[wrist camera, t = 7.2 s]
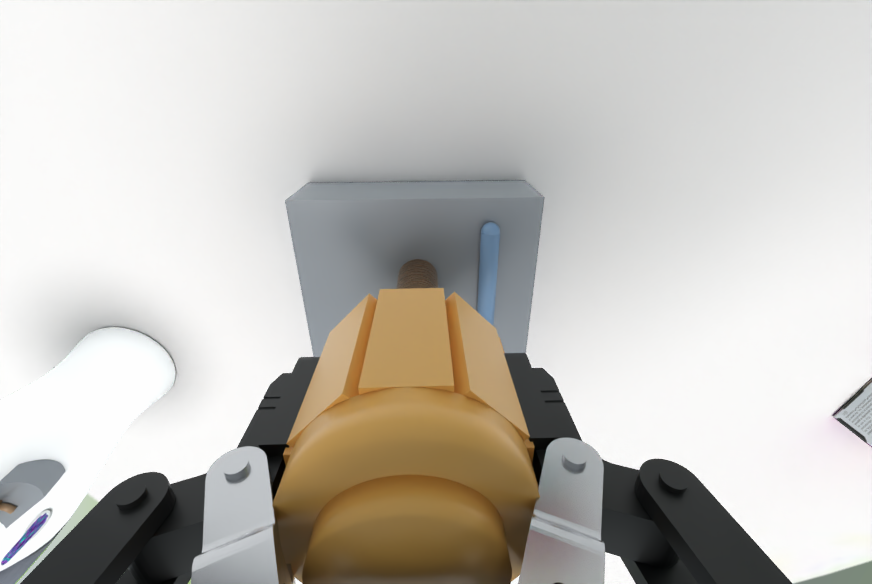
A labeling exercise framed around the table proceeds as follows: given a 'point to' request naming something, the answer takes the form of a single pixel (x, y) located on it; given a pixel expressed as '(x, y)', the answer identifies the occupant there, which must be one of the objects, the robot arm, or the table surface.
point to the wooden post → (417, 275)
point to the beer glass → (69, 435)
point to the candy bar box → (858, 414)
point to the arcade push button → (408, 451)
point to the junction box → (417, 247)
